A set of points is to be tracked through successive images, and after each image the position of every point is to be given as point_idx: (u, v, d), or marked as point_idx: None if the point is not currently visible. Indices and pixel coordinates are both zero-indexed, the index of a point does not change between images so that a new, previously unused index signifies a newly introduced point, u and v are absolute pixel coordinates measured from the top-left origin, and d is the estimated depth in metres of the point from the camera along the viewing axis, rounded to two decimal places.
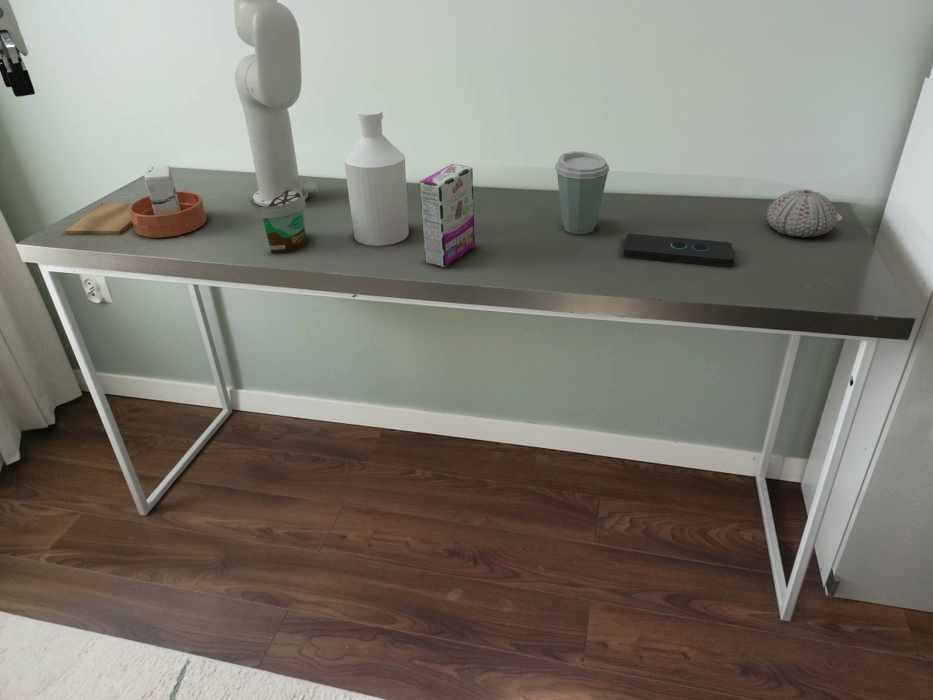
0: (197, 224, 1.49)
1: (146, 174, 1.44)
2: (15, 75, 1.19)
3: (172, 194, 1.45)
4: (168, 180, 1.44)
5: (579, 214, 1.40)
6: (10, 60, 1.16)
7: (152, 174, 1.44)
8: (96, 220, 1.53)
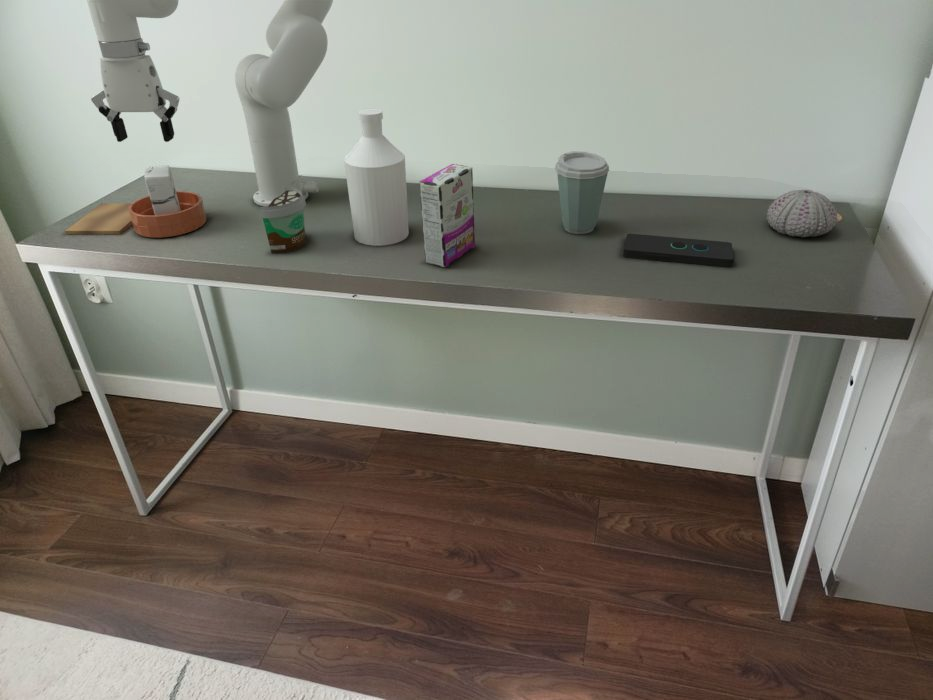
0: (197, 224, 1.49)
1: (146, 174, 1.44)
2: (168, 123, 1.39)
3: (172, 194, 1.45)
4: (168, 180, 1.44)
5: (579, 214, 1.40)
6: (174, 109, 1.38)
7: (152, 174, 1.44)
8: (96, 220, 1.53)
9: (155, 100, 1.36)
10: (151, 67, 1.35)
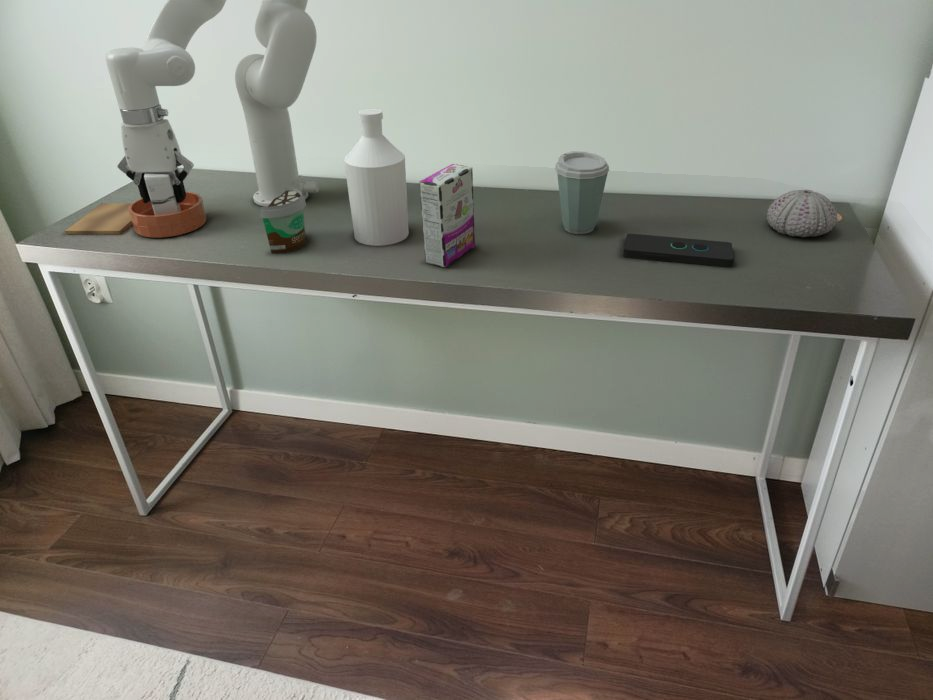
0: (197, 224, 1.49)
1: (146, 174, 1.44)
2: (181, 185, 1.47)
3: (172, 194, 1.45)
4: (168, 180, 1.44)
5: (579, 214, 1.40)
6: (186, 173, 1.45)
7: (152, 174, 1.44)
8: (96, 220, 1.53)
9: (173, 161, 1.43)
10: (169, 131, 1.42)
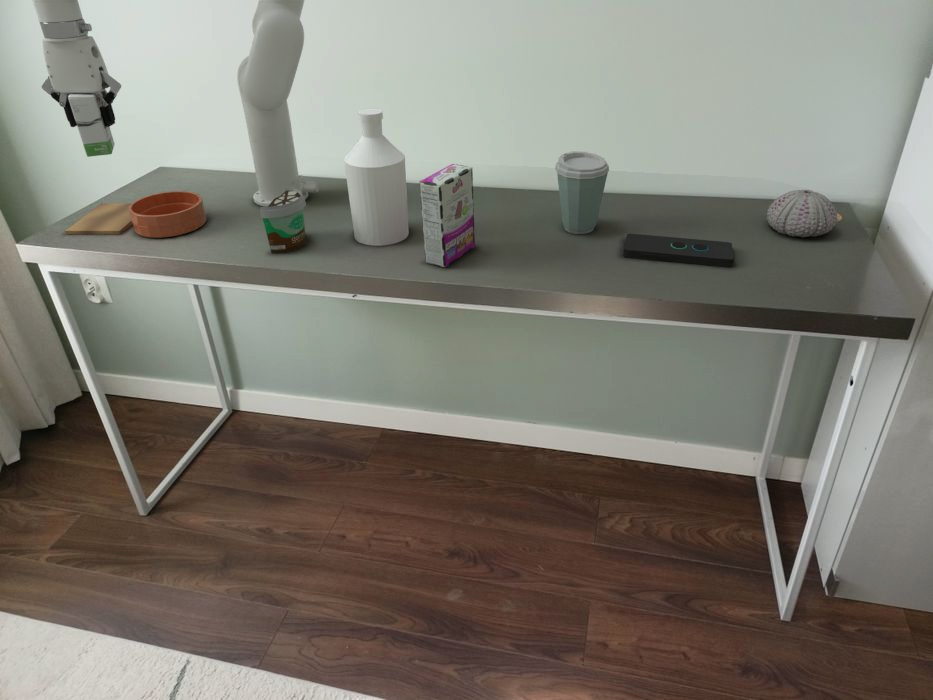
0: (197, 224, 1.49)
1: (71, 94, 1.38)
2: (108, 108, 1.41)
3: (98, 116, 1.40)
4: (93, 100, 1.38)
5: (579, 214, 1.40)
6: (113, 94, 1.39)
7: (77, 94, 1.38)
8: (96, 220, 1.53)
9: (98, 80, 1.37)
10: (94, 48, 1.36)
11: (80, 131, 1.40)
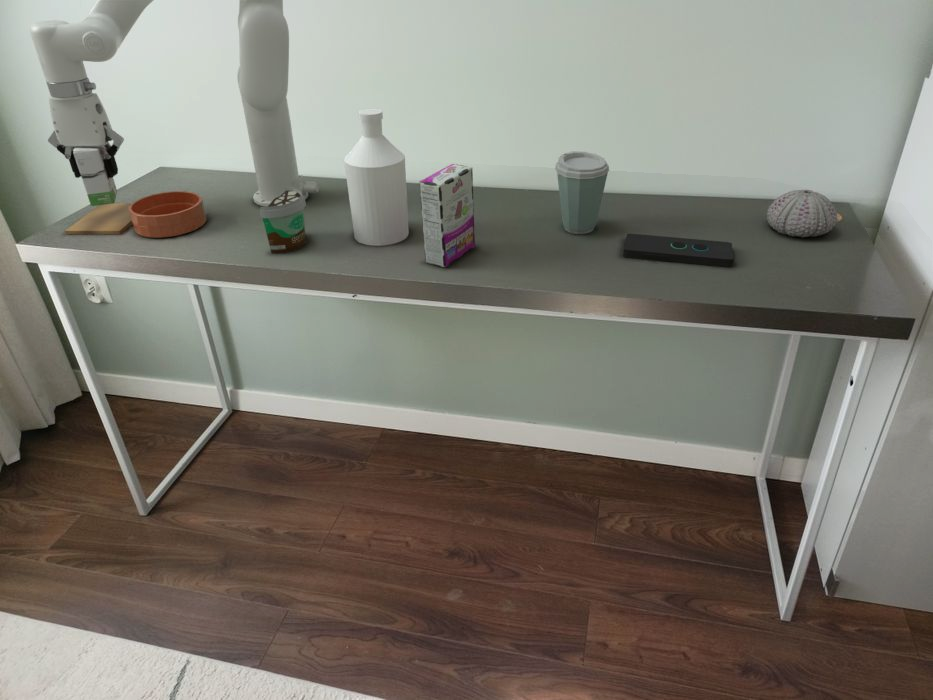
0: (197, 224, 1.49)
1: (76, 148, 1.45)
2: (111, 160, 1.47)
3: (102, 168, 1.46)
4: (97, 154, 1.44)
5: (579, 214, 1.40)
6: (116, 147, 1.46)
7: (81, 148, 1.45)
8: (96, 220, 1.53)
9: (102, 135, 1.43)
10: (98, 105, 1.43)
11: (84, 182, 1.46)
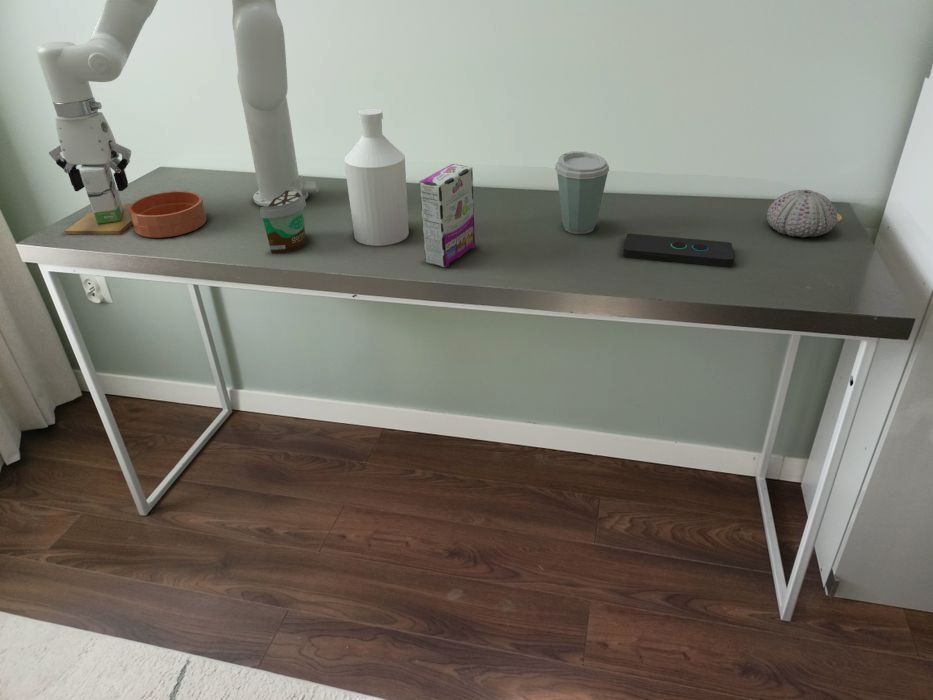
0: (197, 224, 1.49)
1: (82, 167, 1.47)
2: (122, 174, 1.49)
3: (108, 187, 1.48)
4: (103, 173, 1.47)
5: (579, 214, 1.40)
6: (126, 161, 1.47)
7: (88, 167, 1.47)
8: None
9: (107, 153, 1.45)
10: (103, 123, 1.45)
11: (91, 201, 1.48)
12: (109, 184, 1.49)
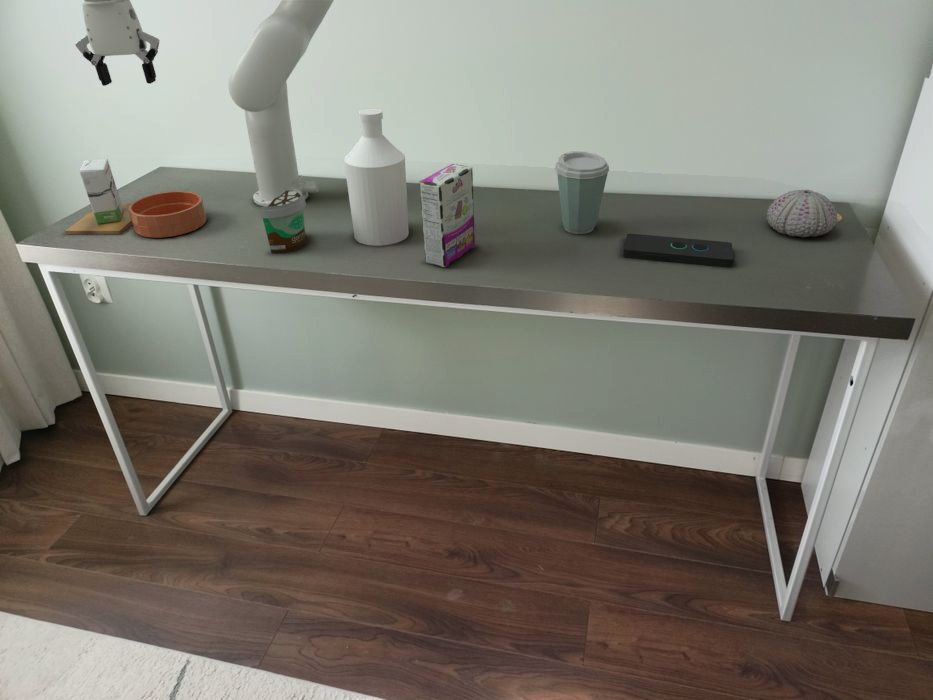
0: (197, 224, 1.49)
1: (82, 167, 1.47)
2: (150, 65, 1.47)
3: (108, 187, 1.48)
4: (103, 173, 1.47)
5: (579, 214, 1.40)
6: (154, 51, 1.45)
7: (88, 167, 1.47)
8: None
9: (136, 42, 1.43)
10: (131, 11, 1.42)
11: (91, 201, 1.48)
12: (109, 184, 1.49)
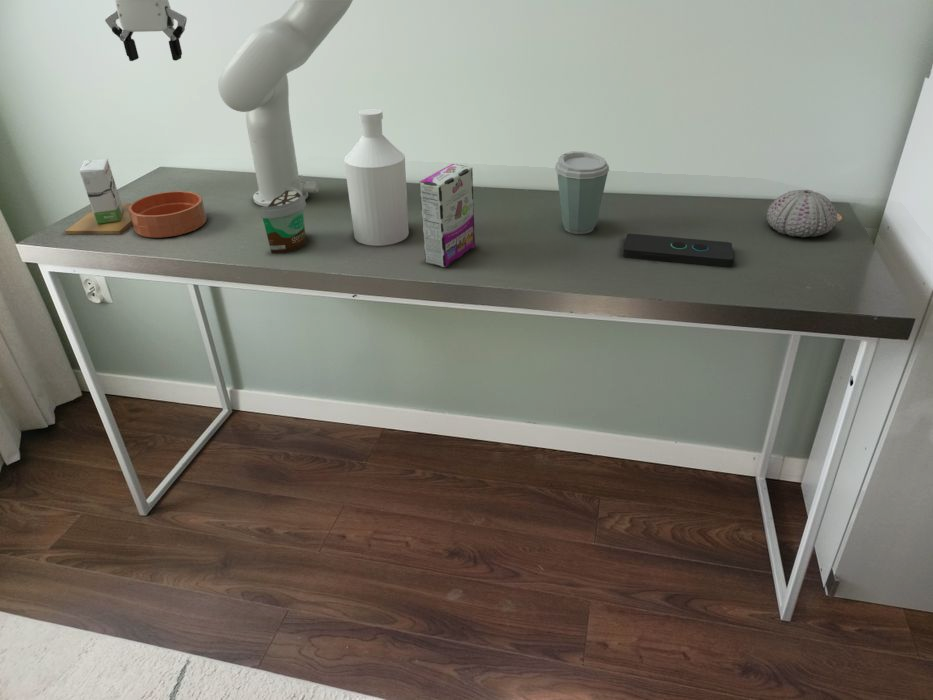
0: (197, 224, 1.49)
1: (82, 167, 1.47)
2: (177, 42, 1.50)
3: (108, 187, 1.48)
4: (103, 173, 1.47)
5: (579, 214, 1.40)
6: (181, 28, 1.48)
7: (88, 167, 1.47)
8: None
9: (164, 19, 1.46)
10: None
11: (91, 201, 1.48)
12: (109, 184, 1.49)
